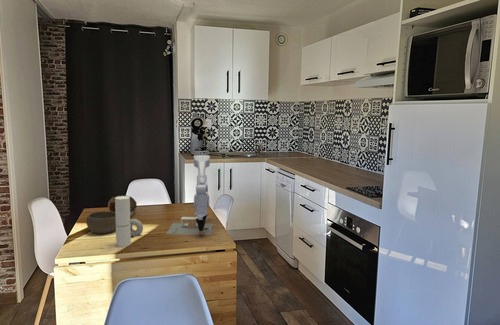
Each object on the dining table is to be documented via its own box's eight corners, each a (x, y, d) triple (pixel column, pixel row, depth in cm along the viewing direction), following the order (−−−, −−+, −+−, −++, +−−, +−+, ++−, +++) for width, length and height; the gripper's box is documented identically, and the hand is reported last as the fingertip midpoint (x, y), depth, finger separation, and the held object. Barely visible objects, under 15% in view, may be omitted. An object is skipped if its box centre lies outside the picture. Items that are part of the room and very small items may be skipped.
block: (189, 226, 221) (189, 220, 221) (195, 226, 221) (195, 220, 221) (188, 228, 217) (188, 221, 217) (194, 228, 217) (195, 222, 217)
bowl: (125, 228, 218) (125, 212, 217) (106, 237, 201) (106, 220, 200) (101, 225, 222) (100, 209, 221) (80, 234, 205) (79, 217, 204)
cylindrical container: (132, 242, 195) (131, 196, 192) (128, 247, 188) (127, 199, 185) (118, 242, 195) (117, 196, 191) (114, 246, 188) (113, 199, 184)
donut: (124, 236, 204) (124, 219, 202) (127, 234, 207) (127, 217, 206) (141, 238, 202) (141, 220, 200) (144, 236, 205) (144, 218, 204)
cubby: (172, 224, 228) (172, 214, 227) (213, 224, 228) (213, 214, 227) (166, 235, 207) (165, 224, 206) (210, 236, 207) (210, 225, 207)
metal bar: (175, 228, 218) (175, 226, 217) (177, 228, 218) (177, 226, 218) (172, 233, 208) (172, 231, 208) (174, 233, 208) (174, 231, 208)
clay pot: (142, 193, 259) (129, 194, 234) (143, 214, 258) (131, 218, 233) (121, 195, 259) (106, 196, 234) (123, 217, 258) (108, 220, 233)
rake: (198, 229, 217) (198, 217, 216) (208, 229, 217) (208, 217, 216) (196, 234, 207) (196, 222, 206) (206, 234, 207) (206, 222, 207)
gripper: (196, 202, 213) (196, 224, 215) (193, 208, 199) (193, 232, 200) (208, 202, 213) (208, 224, 215) (206, 208, 199) (205, 232, 201)
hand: (201, 228), depth 208 cm, fingers open, 7 cm apart
